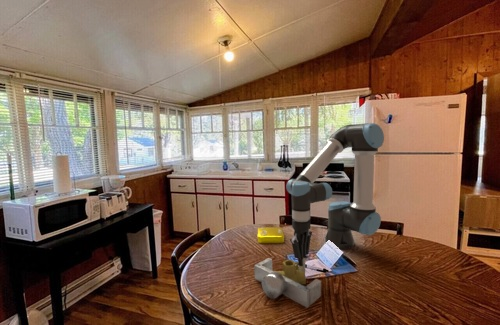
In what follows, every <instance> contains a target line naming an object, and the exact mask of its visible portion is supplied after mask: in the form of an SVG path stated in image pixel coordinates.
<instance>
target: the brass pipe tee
mask: <svg viewBox="0 0 500 325" xmlns="http://www.w3.org/2000/svg"><path fill="white" fill-rule="evenodd" d="M273 271H274V272H275V271H276V272H279V273H280V274H281V275H282V276H284V277H286V278H288V279H291V280H293V281H295V282H297V283H299V284H301V285H306V284H307V279H306V277H307V276H306V270H305V271H299V265H298V261H297V262H296V261H295V260H293V259H286V260H284V261H283V262H282V270H273Z"/></svg>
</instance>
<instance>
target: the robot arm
mask: <svg viewBox="0 0 500 325" xmlns="http://www.w3.org/2000/svg"><path fill="white" fill-rule="evenodd" d="M380 126H381V125H379V124H377V123H369V122H366V123H356V124H347V125H344V126H342V127H339V129H337V130H336V131H334V132H333V133H332V134H331V135H330V136H329V137H328V138H327V140H326V143H325V145H324V146H323V147H322V148H321V149H320V151H319V152H317V154H316V155H315V156H314V158H312V159H311V161H310V162H309V163H308V164H307V166H306V167H305V168H304V169H303V170H302V172H300V174H299V175H298V176H297V177H296V178H291V179H289V180H288V181H287V182H286V185H285V186H286V187H285V188H286V191H287V193H288V194H290V195H291V218H292V219H291V225H292V229H293V230H294V233H293V237H292V238H290V239H289V241H290V244H291V246H292V250H293V255H294V258H295V259H297V262H298V266H299V271H305V272H306V259H308V257H309V256H308V255H309V253H310V247H311V246H310V245H311V241H312V240H311V238H312V235H313V231H310V229H311V204H314V203H320V202H324V201H326V200H329V199H331V197H332V196H333V188H332V187H331V185H330V184H329V183H327V182H320V183H315V182H316V180H317V179H318V178H319V177H320V175H321V174H322V173H323V172H324V171H325V170H326V168H328V166H329V165H330V163H331V162H332V161H333V160H334V159H335V158H336V156H337V155H338V154H341V153H342V152H343V151H344V150H346V149H348V148H351V153H352V154H354V170H353V172H354V173H353V202H351V201H346V200H345V201H343V200H340V201H339V200H338V201H333V202H330V203H329V204H328V210H327V212H328V213H327V214H328V216H327V220H328V222H327V223H328V228H327V232H326V235H325V237H324V239H325V240H324V243H325V242H327V241H328V240H330V241H331V242H333V243H334V244H335V245H336V246H337V247H339V248H340V249H339V250H347V249H351V248H353V247H354V246H355V239H354V235H353V232H356V233H359V234H361V235H366V236H371V235H375V233H376V232H377V231H378V230H379V228H380V226H381V222H382V217H381V214H379V213H378V212H376V210H377V209H376V206H375V205H374V204H373V199H374V198H373V197H374V196H373V194H374V172H375V171H374V169H375V168H374V167H375V164H374V163H375V155H376V154H377V153H378V151H379V149H380V148H381V147H382V146H383V145H384V141H385V135H384V131H383V129H382V128H381V127H380ZM352 231H353V232H352Z"/></svg>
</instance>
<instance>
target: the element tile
mask: <svg viewBox="0 0 500 325" xmlns="http://www.w3.org/2000/svg"><path fill="white" fill-rule="evenodd" d="M283 230H284V229H283V228H282V227H278V226H275V227H273V226H272V227H271V226H270V227H269V226H268V227H267V226H266V227H265V226H264V227H262V226H261V227H258V228H257V243H259V244H283V243H284V242H285V235H284V231H283Z"/></svg>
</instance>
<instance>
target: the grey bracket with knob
mask: <svg viewBox="0 0 500 325" xmlns="http://www.w3.org/2000/svg"><path fill="white" fill-rule="evenodd" d="M253 267H254V280H256V281H258V282H260V283H261V287H262V290H263V292H264V294H265V295H266V296H267V298H269V299H272V300H275V299H277V298H278V297H279V296H281V295H283V296H284V297H286V298H288V299H290V300H292V301H294V302H295V303H298V304H300V305H301V306H303V307H305V308H307V309H308V308H309V307H310V306H311V305H313V304H314V303H315V302H316V301H317V300H319V298H321V296H322V280H320V279H318V278H315V279H314V280H313V281H311V282H309V284H307V285H306V286H305V285H304V284H299V283H297V282H295V281H293V280H291V279H288V278H286V277H284V276H282V275H281V274H280V273H279V272H276V271H277V270H273V259H272V258H270V257H267V258H265V259H264V260H261V261H260V262H258V263H255V264H254V266H253ZM274 271H275V272H274Z"/></svg>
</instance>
